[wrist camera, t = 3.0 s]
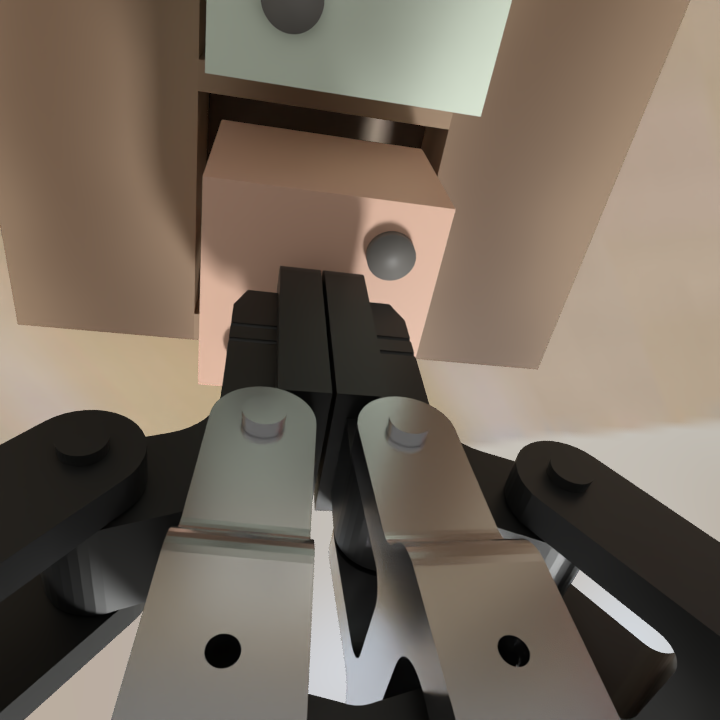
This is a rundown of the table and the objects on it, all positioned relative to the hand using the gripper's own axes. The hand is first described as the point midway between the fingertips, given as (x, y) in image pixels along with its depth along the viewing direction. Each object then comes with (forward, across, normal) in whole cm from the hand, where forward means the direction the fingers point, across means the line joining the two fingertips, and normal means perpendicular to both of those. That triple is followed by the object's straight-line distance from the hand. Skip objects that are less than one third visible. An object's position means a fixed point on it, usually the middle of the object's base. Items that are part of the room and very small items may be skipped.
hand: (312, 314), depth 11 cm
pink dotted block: (+4, 0, 0) cm, 4 cm away
